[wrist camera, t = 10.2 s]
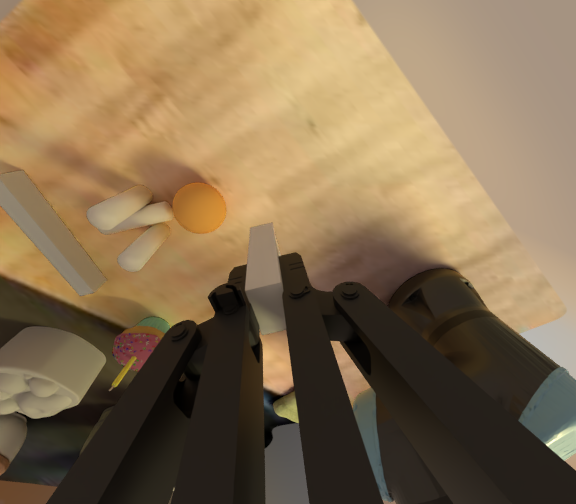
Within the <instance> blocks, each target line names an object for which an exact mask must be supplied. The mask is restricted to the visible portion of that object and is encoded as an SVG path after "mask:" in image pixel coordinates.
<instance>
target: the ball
mask: <svg viewBox="0 0 576 504" xmlns="http://www.w3.org/2000/svg"><path fill="white" fill-rule="evenodd" d="M172 208H173V213H174V216H175V218H176V220H177V221H178V223H179V224H180V225H181V226H182V227H183V228H185V229H186V230H188V231H190V232H193V233H199V234H204V233H209V232H212V231H214V230H215V229H217V228H218V227H219V226H220V225H221V224H222V223H223V221H224V219H225V216H226V204H225V201H224V198H223V197H222V195H221V194H220V193H219V191H217V190H216V189H215V188H214V187H212V186H210V185H208V184H205V183H190V184H187V185H185V186H183V187H182V188H181V189H180V190H179V191H178V192H177V193H176V195H175V197H174V199H173V205H172Z"/></svg>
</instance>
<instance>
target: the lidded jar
mask: <svg viewBox="0 0 576 504" xmlns="http://www.w3.org/2000/svg"><path fill="white" fill-rule="evenodd" d="M26 422H27V419H26V418H25V417H24V416H22V415H21V414H18V413H15V412H13V413H10V414H5V415H1V414H0V475H1V474H3V473H4V472H5V471H6V469H7V468H8V467H9V465H10V463H11V462H12V460H13V459H14V457H15V456H16V455H17V453H18V451H19V450H20V448H21V446H22V445H23V443H24V441H25V438H26V435H27V425H26Z"/></svg>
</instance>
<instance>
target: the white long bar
mask: <svg viewBox="0 0 576 504" xmlns="http://www.w3.org/2000/svg"><path fill="white" fill-rule="evenodd" d="M0 206H1V207H2V208H3V209H4V210H5V211H6V212H7V214H8V215H9V216H10V217H11V218H12V219H13V220H14V222H15V223H16V224H17V225H18V226H19V227H20V228H21V230H22V231H23V232H24V233H25V234H26V235H27V236H28V237H29V239H30V240H31V241H32V242H33V243H34V244H35V245H36V247H37V248H38V249H39V250H40V251H41V252H42V253H43V255H44V256H45V257H46V258H47V259H48V260H49V261H50V262H51V264H52V265H53V266H54V267H55V268H56V269H57V270H58V272H59V273H60V274H61V275H62V276H63V277H64V278H65V279H66V281H67V282H68V283H69V284H70V285H71V286H72V287H73V289H74V290H75V291H76V292H77V293H78V294H79V295H80V296H83V295H87V294H91V293H95V292H96V291H97V290H98V289H99V288H100V287H101V286H102V285H103V284H104V283H105V282H106V281H107V279H106V278H105V277H104V275H103V274H102V273H101V271H100V270H99V269H98V267H97V266H96V265H95V264H94V262H93V261H92V260H91V258H90V257H89V256H88V254H87V253H86V252H85V250H84V249H83V248H82V247H81V245H80V244H79V243H78V241H77V240H76V239H75V237H74V236H73V235H72V233H71V232H70V231H69V229H68V228H67V227H66V226H65V224H64V223H63V222H62V220H61V219H60V218H59V216H58V215H57V214H56V212H55V211H54V210H53V209H52V207H51V206H50V205H49V203H48V202H47V201H46V199H45V198H44V197H43V195H42V194H41V193H40V192H39V190H38V189H37V188H36V186H35V185H34V184H33V182H32V181H31V180H30V178H29V177H28V176H27V175H26V173H25V172H24V171H23V170H21V171H15V172H10V173H4V174H0Z"/></svg>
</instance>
